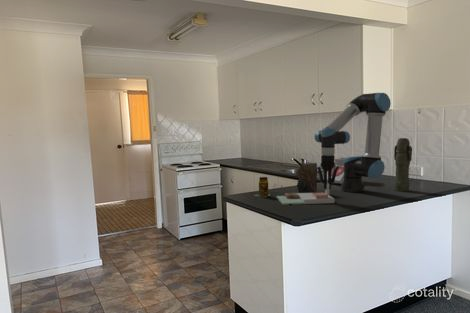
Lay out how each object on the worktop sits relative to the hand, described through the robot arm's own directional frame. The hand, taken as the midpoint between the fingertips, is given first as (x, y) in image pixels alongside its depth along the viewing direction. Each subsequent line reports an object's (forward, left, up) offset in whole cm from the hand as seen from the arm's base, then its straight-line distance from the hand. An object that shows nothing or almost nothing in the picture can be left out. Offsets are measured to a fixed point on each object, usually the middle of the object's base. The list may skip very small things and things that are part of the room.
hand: (327, 194), depth 206 cm
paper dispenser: (-33, -61, -4) cm, 69 cm away
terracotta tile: (+4, 0, -2) cm, 5 cm away
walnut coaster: (+19, -9, -3) cm, 21 cm away
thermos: (-60, -25, -4) cm, 65 cm away
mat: (+21, -5, -4) cm, 22 cm away
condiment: (+35, -22, -4) cm, 42 cm away
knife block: (+4, -24, -4) cm, 24 cm away
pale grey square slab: (+6, -5, -4) cm, 9 cm away
